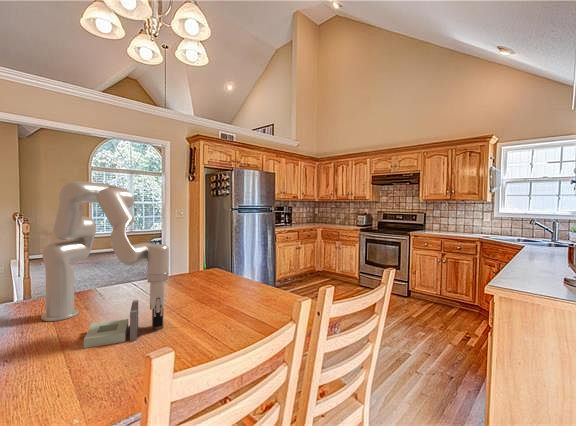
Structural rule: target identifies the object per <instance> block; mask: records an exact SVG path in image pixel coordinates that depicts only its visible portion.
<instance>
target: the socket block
mask: <svg viewBox="0 0 576 426" xmlns="http://www.w3.org/2000/svg"><path fill="white" fill-rule="evenodd" d="M128 330H129V318H124V319H123V318H122V319H115V320H108V321H107V320H106V321H100V322H93V323H91V324H90V326H89V328H88V329H87V333H86V335H85V336H84V338H83V348H84V349H86V348H93V347H99V346H101V347H102V346H105V345H106V346H107V345H112V344H119V343H125V342H126V339H127V335H128Z"/></svg>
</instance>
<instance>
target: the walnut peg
mask: <svg viewBox="0 0 576 426" xmlns="http://www.w3.org/2000/svg"><path fill="white" fill-rule="evenodd" d="M160 307H161V306H160ZM155 308H156V307H155ZM164 310H165V306H164V307H163V308H162V315H163V325H162V326H159V327H153V316H154V309H152V314H151V317H152V318H151V323H152V324H151V325H152V326H151V329H152V330H153V331H160V330H163V329H164V323H165V322H164V318H165V317H164V315H165V314H164V312H165V311H164Z"/></svg>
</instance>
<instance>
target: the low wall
mask: <svg viewBox="0 0 576 426" xmlns="http://www.w3.org/2000/svg"><path fill="white" fill-rule="evenodd" d="M129 311H130V312H129V341H130V342H132V341H137V338H138V330H139V299H134V300H132V302H131V307H130V310H129Z"/></svg>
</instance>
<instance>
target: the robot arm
mask: <svg viewBox="0 0 576 426" xmlns="http://www.w3.org/2000/svg"><path fill="white" fill-rule="evenodd" d="M58 200H59V203H58V205H59V206H58V209H57V213H56V215H55V219H54V224H53V230H52V234H53V236H54V238H55V239H58V240H59V241H58V240H57V241H53V242H50V243H48V244H47V245H46V246H44V248H43V249H42V252H41V254H42V260H43V262H44V263H43V264H44V268H45V313H43V314H42V315H41V316H40V320H42V321H45V322H55V321H62V320H66V319H70V318H73V317H74V316H75V317H76V316H77V315H78V314H79V311H80V310H79V309H78V308H75V271H74V270H73V267H72V266H71V265H70V263H73V262H77V261H78V262H79V261H82V260H85V259H87V258H88V257H89V255H90V253H91V251H92V248H93V247H92V246H93V243H94V240H95V236H96V233H97V232H96V231H97V225H96V222H95V220H94V219H93V218H91V217H89V216H85V215H84V216H83V214H84V211H85V209H84V205H83V203H85V204H86V203H88V204H89V203H92V204H98V205H99V207H100V208H101V211H102V212H103V213H104V215H105V217H106V219H107V220H108V222H109V225H110V226H111V228H112V229H111V232H110V246H111V248H112V250H113V252H114V254H115V256H116V257H117V258H118V260H119V261H120V263H122V264H123V265H125V266H136V265H138V264H143V263H147V265H146V266H147V267H146V268H147V270H146V271H147V272H146V273H147V279H146V280H147V283H149V310H152V309H154V316H153V327H159V326H162V325H163V326H164V324H163V315H162V308H163V307H164V308H165V301H166V299H165V298H166V282H168V281H169V277H170V276H169V275H170V274H169V273H170V272H169V271H170V270H169V269H170V268H169V266H170V264H169V263H170V262H169V260H170V259H169V258H170V251H169V250H170V249H169V246H168V245H166V244H160V243H159V244H156V243H155V244H154V243H151V242H142V243H135V244H134V243H133V244H132V243H131V242H130V241H129V238H128V236H127V233H126V231H127V230H126V229H127V228H128V227H130V226H131V225H132V224H133V223H134V221H135V216H134V215H133V213H132V212H131V210H130V208H131V207H132V206H133V205H134V203H135V197H134V194H133V193H132V192H131V191H130V190H129V189H127V188H124V187H119V186H116V185H111V184H108V183H101V182H93V181H84V180H83V181H79V180H77V181H76V180H74V181H69V182H66V183H65V184H64V185H63V186H62V187H61V188H60V191H59V199H58ZM60 240H61V241H60ZM160 306H161V307H160ZM155 307H156V308H155Z"/></svg>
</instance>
